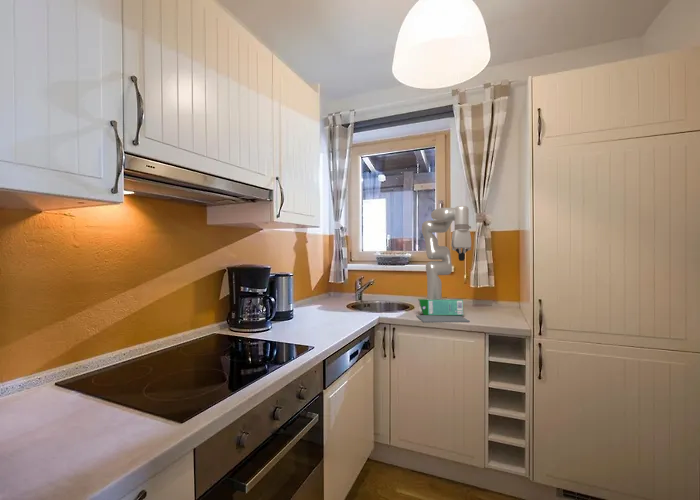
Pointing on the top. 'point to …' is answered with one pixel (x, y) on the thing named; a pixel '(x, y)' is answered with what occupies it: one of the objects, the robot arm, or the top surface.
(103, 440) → the top surface
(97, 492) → the top surface
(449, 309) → the milk carton
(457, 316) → the mat
